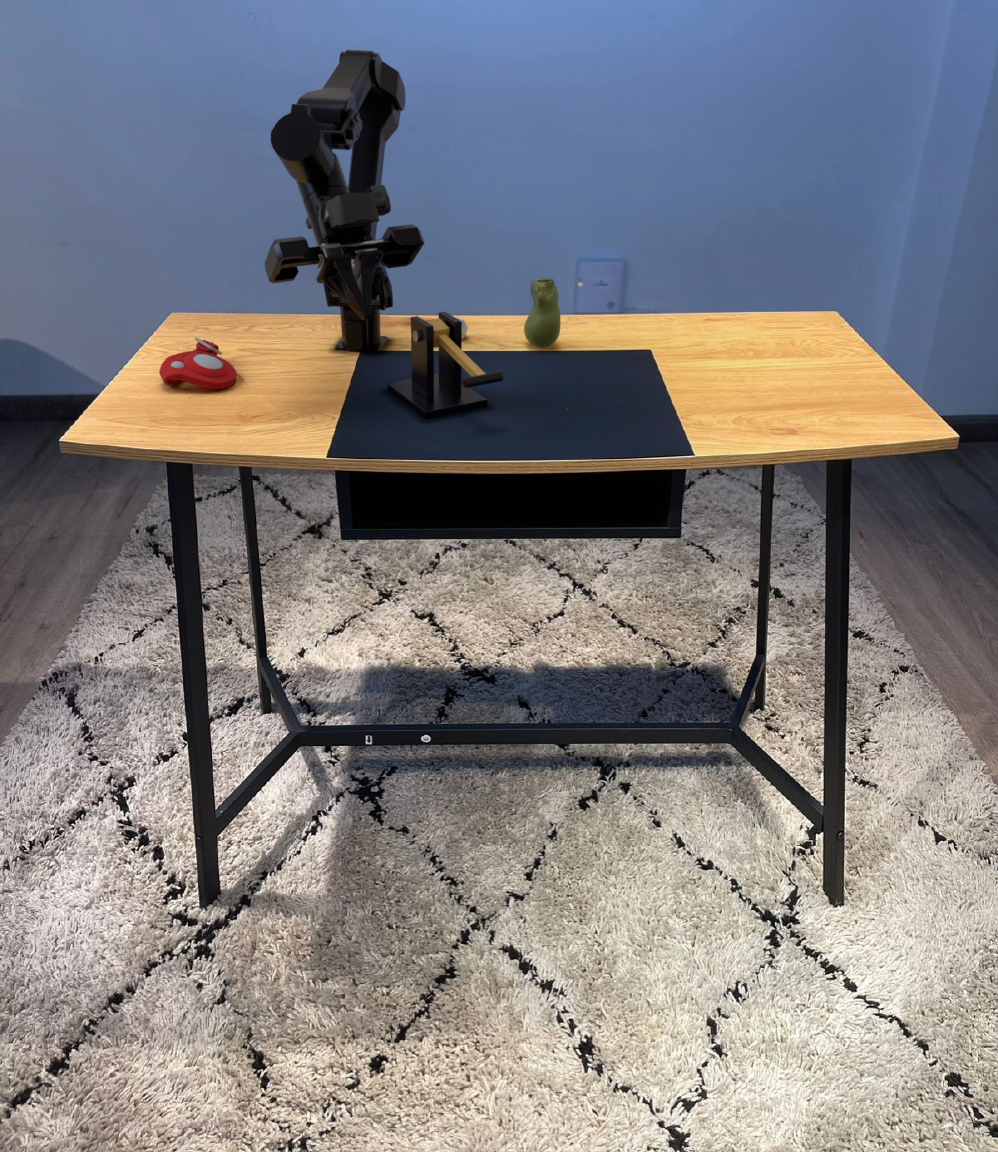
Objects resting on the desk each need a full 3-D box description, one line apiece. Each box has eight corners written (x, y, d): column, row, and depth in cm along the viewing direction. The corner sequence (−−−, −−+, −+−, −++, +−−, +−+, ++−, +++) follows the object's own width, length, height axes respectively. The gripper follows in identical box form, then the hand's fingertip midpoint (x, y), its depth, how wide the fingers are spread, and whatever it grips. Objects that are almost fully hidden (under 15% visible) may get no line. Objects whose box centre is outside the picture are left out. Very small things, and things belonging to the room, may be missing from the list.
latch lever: (502, 387, 123) (504, 369, 122) (466, 394, 121) (468, 376, 119) (447, 333, 132) (449, 316, 130) (412, 339, 130) (414, 322, 128)
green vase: (563, 351, 151) (567, 283, 146) (528, 353, 150) (531, 285, 145) (553, 338, 156) (556, 273, 150) (519, 340, 154) (522, 274, 149)
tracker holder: (250, 377, 135) (175, 373, 129) (242, 406, 138) (169, 403, 132) (219, 331, 142) (148, 325, 137) (213, 358, 145) (142, 354, 139)
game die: (439, 338, 154) (439, 318, 153) (459, 333, 156) (459, 314, 155) (452, 344, 152) (452, 325, 150) (472, 340, 154) (472, 320, 152)
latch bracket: (487, 408, 132) (489, 326, 126) (425, 421, 128) (424, 337, 122) (446, 380, 140) (446, 302, 134) (387, 391, 136) (384, 311, 130)
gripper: (265, 166, 112) (308, 296, 110) (418, 154, 120) (460, 276, 118) (247, 220, 121) (287, 341, 120) (389, 206, 130) (428, 319, 128)
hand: (367, 318), depth 121 cm, fingers closed
